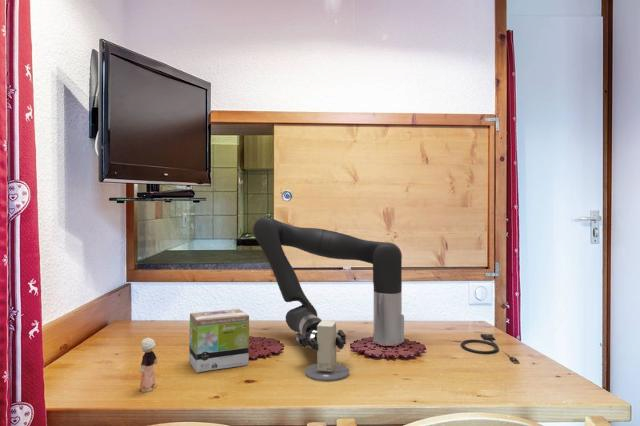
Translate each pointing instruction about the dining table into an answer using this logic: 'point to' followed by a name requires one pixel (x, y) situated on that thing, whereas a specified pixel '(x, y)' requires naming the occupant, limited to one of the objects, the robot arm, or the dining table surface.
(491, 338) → the cable
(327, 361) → the skincare box
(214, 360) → the tea box
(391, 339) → the robot arm
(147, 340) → the grandmother figurine
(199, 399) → the dining table surface
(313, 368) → the coaster
